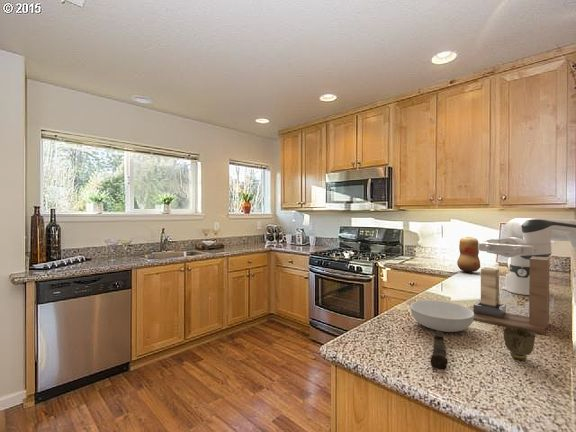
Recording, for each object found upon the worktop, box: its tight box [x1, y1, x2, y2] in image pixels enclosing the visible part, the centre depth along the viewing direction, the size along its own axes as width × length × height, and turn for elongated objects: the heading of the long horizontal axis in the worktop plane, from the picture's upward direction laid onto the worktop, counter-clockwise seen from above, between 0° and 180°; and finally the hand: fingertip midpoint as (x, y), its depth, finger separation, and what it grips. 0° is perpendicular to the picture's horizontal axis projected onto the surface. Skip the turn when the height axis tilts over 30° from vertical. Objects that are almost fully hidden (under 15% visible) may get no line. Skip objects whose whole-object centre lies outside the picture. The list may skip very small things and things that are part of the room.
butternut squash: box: [456, 236, 481, 274], centre depth 212 cm, size 14×13×25 cm
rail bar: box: [480, 267, 500, 308], centre depth 122 cm, size 5×5×18 cm
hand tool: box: [430, 330, 449, 371], centre depth 89 cm, size 19×4×5 cm, turn 151°
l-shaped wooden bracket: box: [468, 256, 550, 336], centre depth 117 cm, size 16×26×25 cm, turn 46°
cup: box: [502, 326, 537, 361], centre depth 87 cm, size 8×7×8 cm
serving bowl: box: [409, 299, 474, 333], centre depth 111 cm, size 21×21×7 cm
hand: (500, 249), depth 129 cm, fingers open, 8 cm apart
